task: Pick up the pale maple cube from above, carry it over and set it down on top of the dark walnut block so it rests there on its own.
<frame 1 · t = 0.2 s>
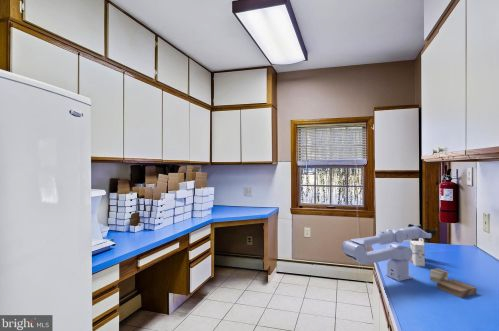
hand: (428, 230, 150), 21 cm above the countertop, tool horizontal, fingers open, 7 cm apart
walnut block: (456, 291, 127), on the countertop
ink cartridge box: (417, 264, 161), on the countertop
sauce bottle: (417, 258, 170), on the countertop
maple cube: (439, 281, 137), on the countertop
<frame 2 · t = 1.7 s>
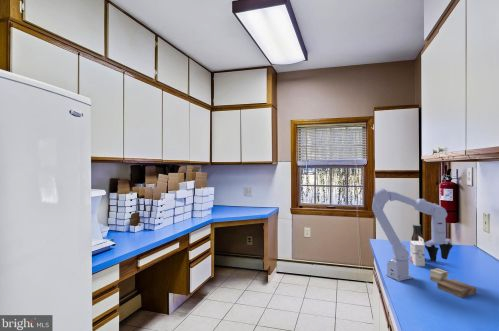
hand: (438, 259, 137), 10 cm above the countertop, tool pointing down, fingers open, 7 cm apart
nothing on the countertop moved.
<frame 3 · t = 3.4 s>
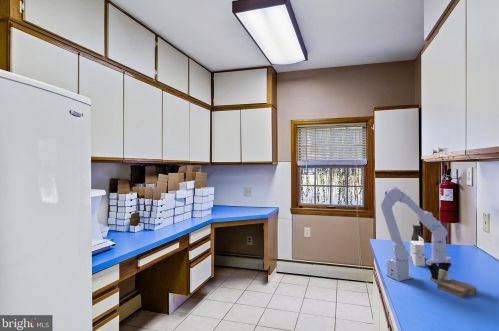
hand: (438, 278, 137), 1 cm above the countertop, tool pointing down, fingers closed on maple cube, 5 cm apart
maple cube: (439, 281, 137), on the countertop, touching gripper
everything else where it was.
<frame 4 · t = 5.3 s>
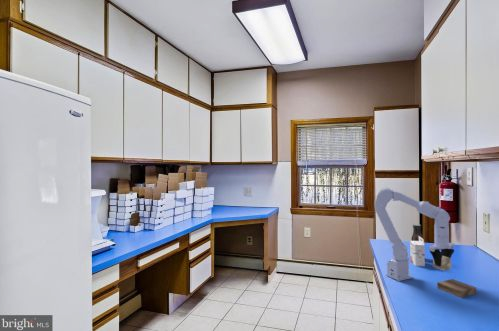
hand: (442, 264, 135), 8 cm above the countertop, tool pointing down, fingers closed on maple cube, 5 cm apart
maple cube: (442, 268, 135), point 7 cm above the countertop, touching gripper
everything else where it was.
when the fingers open (5 cm above the countertop, at t = 7.1 s): maple cube drops 1 cm, point 2 cm above the countertop.
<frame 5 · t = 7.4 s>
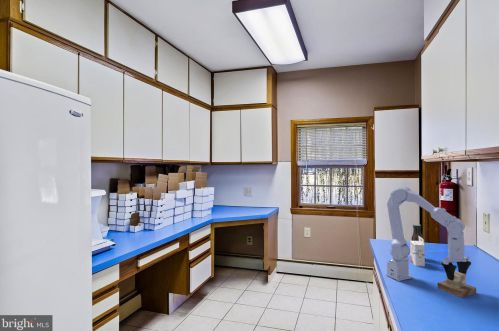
hand: (456, 278, 127), 5 cm above the countertop, tool pointing down, fingers open, 7 cm apart
maple cube: (456, 284, 127), point 2 cm above the countertop
everything else where it was.
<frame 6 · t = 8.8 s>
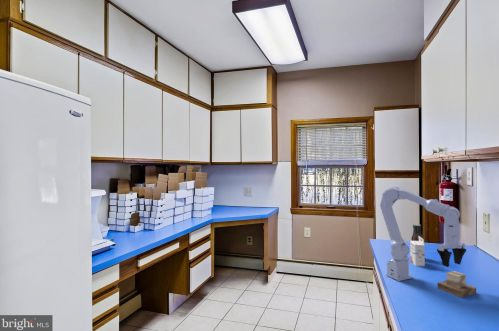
hand: (451, 264, 130), 10 cm above the countertop, tool pointing down, fingers open, 7 cm apart
walnut block: (456, 291, 127), on the countertop, touching maple cube
maple cube: (456, 285, 127), point 2 cm above the countertop, touching walnut block
everything else where it was.
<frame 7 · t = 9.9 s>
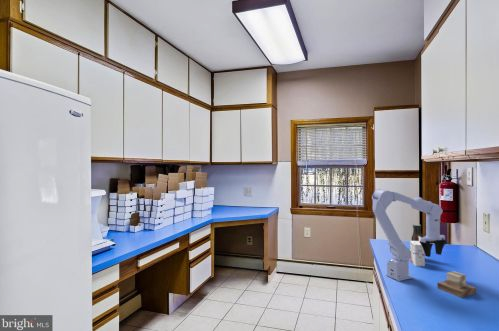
hand: (433, 255, 143), 10 cm above the countertop, tool pointing down, fingers open, 7 cm apart
nothing on the countertop moved.
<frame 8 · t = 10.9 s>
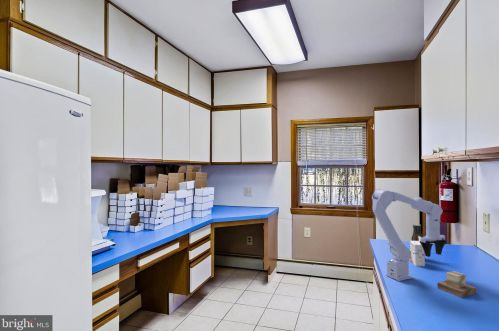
hand: (433, 255, 143), 10 cm above the countertop, tool pointing down, fingers open, 7 cm apart
walnut block: (456, 291, 127), on the countertop
maple cube: (456, 285, 127), point 3 cm above the countertop
everything else where it was.
at the end: maple cube 0.2 cm off-centre on the walnut block, point 3.0 cm above the walnut block's base; maple cube tilted 1°; maple cube touching nothing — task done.
